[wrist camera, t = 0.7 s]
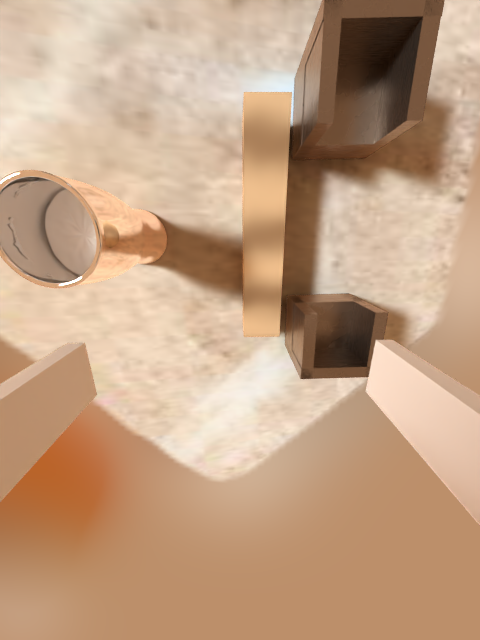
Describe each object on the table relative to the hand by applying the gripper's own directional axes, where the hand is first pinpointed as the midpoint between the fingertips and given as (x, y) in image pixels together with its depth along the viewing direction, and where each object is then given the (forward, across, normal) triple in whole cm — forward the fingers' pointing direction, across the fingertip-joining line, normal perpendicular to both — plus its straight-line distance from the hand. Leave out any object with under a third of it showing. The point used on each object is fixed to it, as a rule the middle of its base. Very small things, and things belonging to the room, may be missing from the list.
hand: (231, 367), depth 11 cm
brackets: (+20, +10, +6) cm, 24 cm away
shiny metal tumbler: (+20, -11, +6) cm, 24 cm away
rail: (+21, +3, +6) cm, 22 cm away
